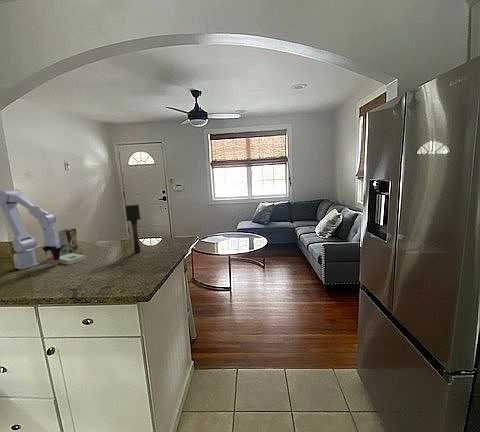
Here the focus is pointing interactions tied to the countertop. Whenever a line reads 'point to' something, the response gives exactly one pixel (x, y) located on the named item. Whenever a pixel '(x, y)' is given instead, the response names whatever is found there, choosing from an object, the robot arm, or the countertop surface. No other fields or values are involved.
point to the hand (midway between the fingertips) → (53, 259)
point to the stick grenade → (134, 223)
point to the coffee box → (68, 241)
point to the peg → (51, 258)
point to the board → (71, 258)
